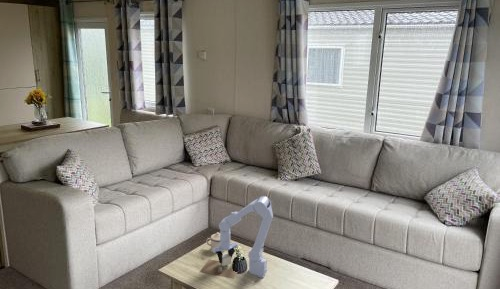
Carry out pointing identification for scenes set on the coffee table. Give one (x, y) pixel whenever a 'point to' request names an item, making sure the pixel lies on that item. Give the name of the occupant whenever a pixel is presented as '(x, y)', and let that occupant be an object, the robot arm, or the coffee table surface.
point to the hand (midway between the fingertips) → (225, 261)
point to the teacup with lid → (214, 241)
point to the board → (214, 270)
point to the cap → (226, 259)
